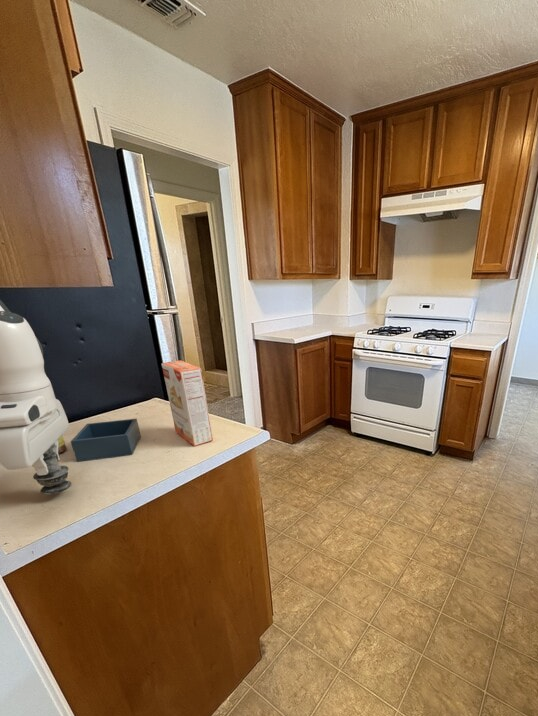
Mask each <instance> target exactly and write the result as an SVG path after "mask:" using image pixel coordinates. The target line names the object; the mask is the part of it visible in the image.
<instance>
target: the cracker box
mask: <svg viewBox="0 0 538 716" xmlns="http://www.w3.org/2000/svg"><path fill="white" fill-rule="evenodd" d="M161 369H162V373H163V378H164V382H165V387H166V392H167V396H168V402H169V406H170V410H171V416H172V420H173V425H174V430H175V432H176V433H177V434H178V435H179V436H180V437H182V438H183V439H184V440H185V441H187V442H188V443H190V445H192V446H193V447H197V446H200V445H203V444H207V443H209V442H210V443H211V442H212V441H214V437H213V433H212V426H211V419H210V415H209V407H208V402H207V395H206V389H205V383H204V377H203V371H202V370H203V369H202V368H201V367H199V366H197V365H193V364H191V363H189V362H186V361H183V360H181V359H180V360H174V361H166V362H162V363H161Z"/></svg>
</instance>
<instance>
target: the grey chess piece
mask: <svg viewBox="0 0 538 716" xmlns="http://www.w3.org/2000/svg"><path fill="white" fill-rule="evenodd" d="M55 455H56V452H53V449H52V446H51V447H50V448H49V449H48V450H47V451H46V452H45V453H44V454H43V456H44V458H43V460H44V462H45V463H48V464H49V468H50V471H49V472H48V474H47V475H37V473H36V472H35V473H34V474H33V476H32V478H33V480H35V481H36V482H37V483H38V484H39V485H40V486H42V487H41V489H40V494H42V495H55V494H58V493H61V492H65V491H66V490H68V489H69V488H71V486H72V483H73V482H72V481H70V480H67V479H68V476H69V469H70V468H69V467H68V466H67V465H60V464H59V463H58V462H57V460H56V457H55Z"/></svg>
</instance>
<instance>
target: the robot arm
mask: <svg viewBox="0 0 538 716" xmlns="http://www.w3.org/2000/svg"><path fill="white" fill-rule="evenodd" d="M69 427H70V425H69V420H68V416H67V415H66V411H65V409H64V407H63V405H62V403H61V401H60V400H59V399H57V398H56V395H55V392H54V389H53V385H52V383H51V380H50V379H49V377H48V376H47V374H46V371H45V359H44V348H43V345H42V343H41V342H40V340H39V339H38V338H37V336H36V335H35V332H34V330H33V328H32V326H31V325H30V323H29V322H28V321H27V319H26V318H25V317H23V316H21V315H20V314H18V313H15V312H12V311H11V310H10V309H9V308H8V307H7V306H6V305H5V303H4V302H3V301H2V299H0V464H1V465H2V467H3V468H5V469H7V470H9V471H12V470H13V471H15V470H22V469H29V468H31V467H32V468H33V469H34V470H35V473H37V475H47V474H48V472H49V471H50V468H49V464H48V463H45V462H44V460H43V458H44V456H43V454H44V453H45V452H46V451H47V450H48V449H49V448H50V447H51V446H52V449H53V452H56V455H55V457H56V460H57V463H58V462H59V461H60V460H61V458H60V455H59V454H58V441H57V440H58V439H59V438H60V437H61V436H63V435H64V434H65V433H66V432H67V431H68V430H69Z"/></svg>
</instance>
